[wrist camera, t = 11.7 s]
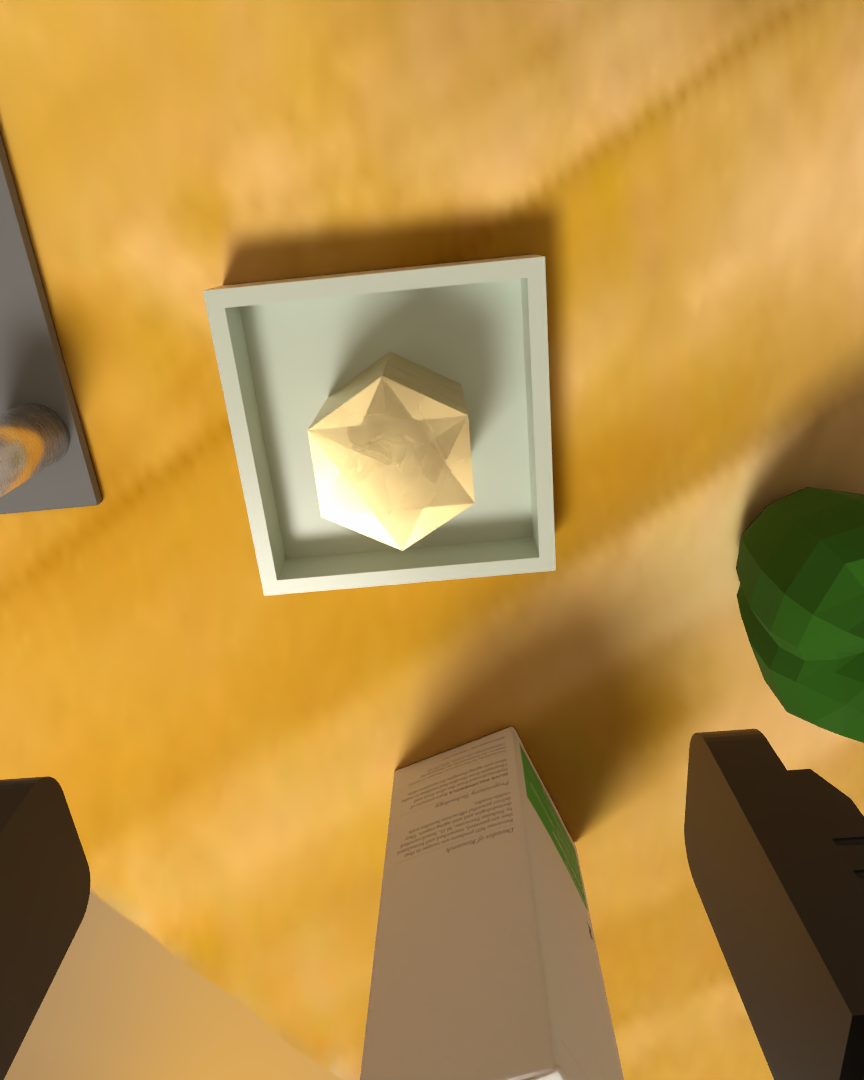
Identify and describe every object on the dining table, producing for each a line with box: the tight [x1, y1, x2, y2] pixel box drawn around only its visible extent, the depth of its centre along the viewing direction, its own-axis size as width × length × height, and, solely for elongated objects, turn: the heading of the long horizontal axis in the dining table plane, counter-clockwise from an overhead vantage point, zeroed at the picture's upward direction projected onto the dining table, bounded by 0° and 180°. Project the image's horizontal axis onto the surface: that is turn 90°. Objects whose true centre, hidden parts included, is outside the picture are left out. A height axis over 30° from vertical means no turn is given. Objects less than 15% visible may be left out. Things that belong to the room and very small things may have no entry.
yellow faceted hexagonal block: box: [308, 352, 475, 551], centre depth 26 cm, size 6×5×5 cm
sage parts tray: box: [203, 254, 556, 596], centre depth 28 cm, size 11×11×2 cm
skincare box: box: [360, 727, 624, 1080], centre depth 29 cm, size 8×7×16 cm
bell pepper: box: [736, 487, 864, 743], centre depth 26 cm, size 8×8×10 cm
